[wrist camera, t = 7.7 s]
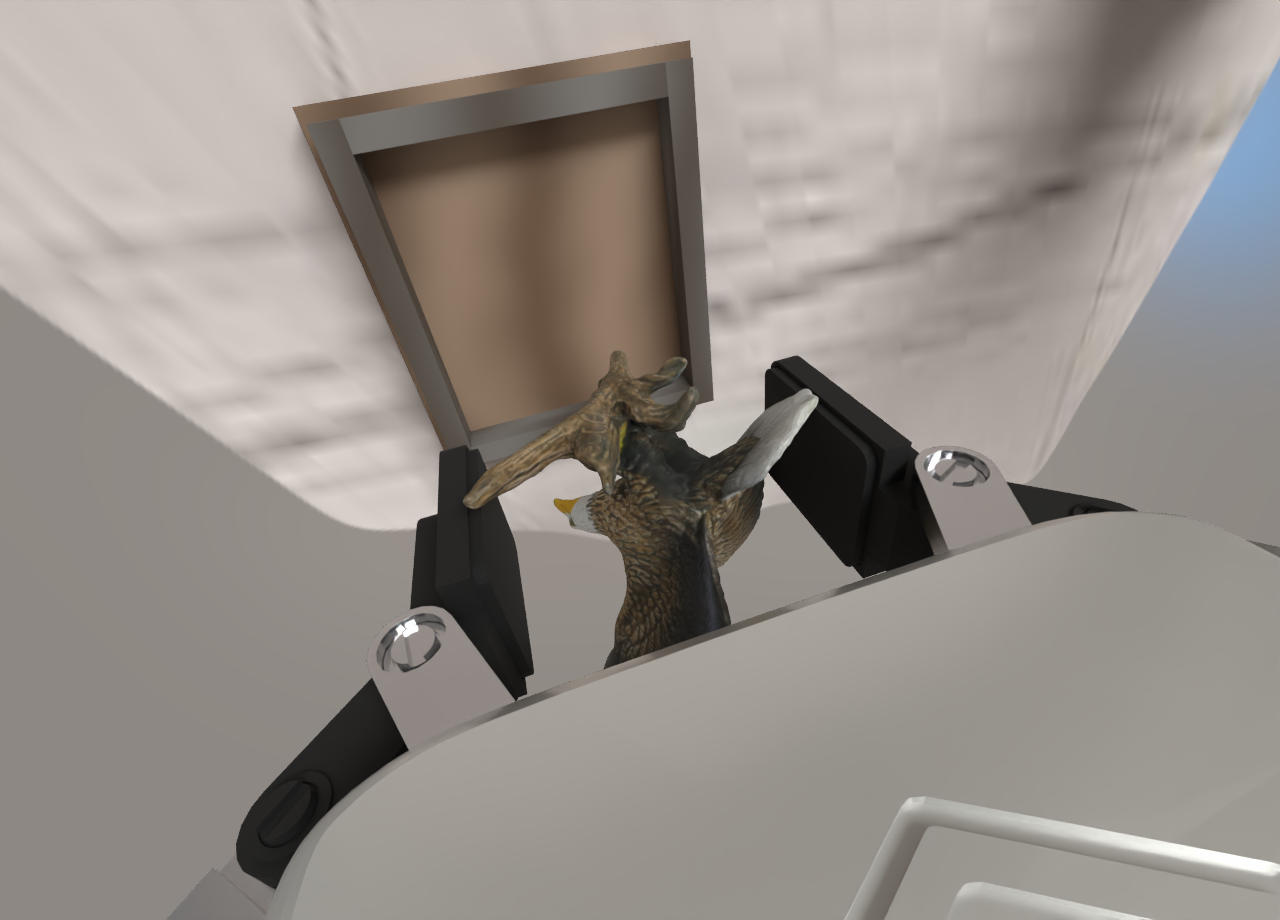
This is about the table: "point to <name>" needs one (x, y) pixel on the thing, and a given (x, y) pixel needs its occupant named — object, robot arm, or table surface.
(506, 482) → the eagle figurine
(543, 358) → the wooden tray
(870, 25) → the table surface
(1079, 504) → the robot arm
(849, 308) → the table surface
